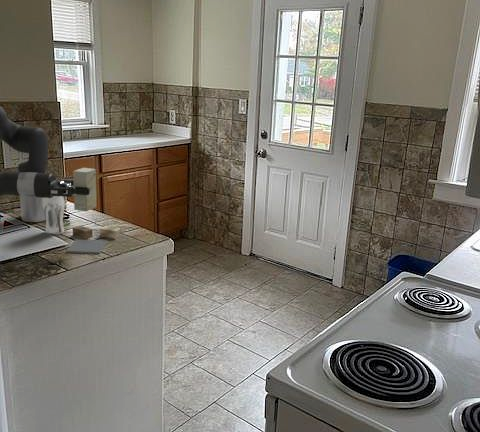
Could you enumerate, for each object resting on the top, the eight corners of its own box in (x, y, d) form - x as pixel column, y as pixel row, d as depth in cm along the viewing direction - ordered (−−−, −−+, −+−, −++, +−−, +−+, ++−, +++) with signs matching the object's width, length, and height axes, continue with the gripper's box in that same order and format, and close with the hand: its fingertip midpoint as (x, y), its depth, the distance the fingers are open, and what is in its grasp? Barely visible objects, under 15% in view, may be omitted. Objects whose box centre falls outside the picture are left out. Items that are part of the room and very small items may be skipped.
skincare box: (86, 212, 146) (86, 172, 142) (73, 210, 146) (72, 170, 143) (97, 206, 152) (96, 168, 148) (84, 204, 152) (83, 166, 149)
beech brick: (100, 236, 163) (99, 228, 162) (104, 234, 166) (104, 225, 165) (116, 239, 162) (116, 231, 161) (120, 236, 165) (120, 228, 164)
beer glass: (55, 227, 169) (53, 185, 164) (70, 231, 166) (68, 188, 162) (39, 232, 163) (36, 189, 158) (54, 236, 160) (52, 193, 156)
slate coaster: (75, 241, 157) (75, 239, 157) (106, 242, 158) (106, 240, 158) (66, 252, 148) (66, 250, 148) (99, 253, 149) (99, 252, 148)
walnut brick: (72, 236, 162) (72, 227, 161) (79, 233, 165) (79, 225, 164) (85, 239, 160) (85, 231, 159) (92, 237, 162) (92, 229, 161)
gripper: (27, 178, 138) (86, 181, 139) (44, 167, 152) (97, 171, 153) (28, 203, 140) (86, 206, 141) (45, 191, 154) (98, 194, 155)
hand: (92, 188), depth 147 cm, fingers closed on skincare box, 7 cm apart
